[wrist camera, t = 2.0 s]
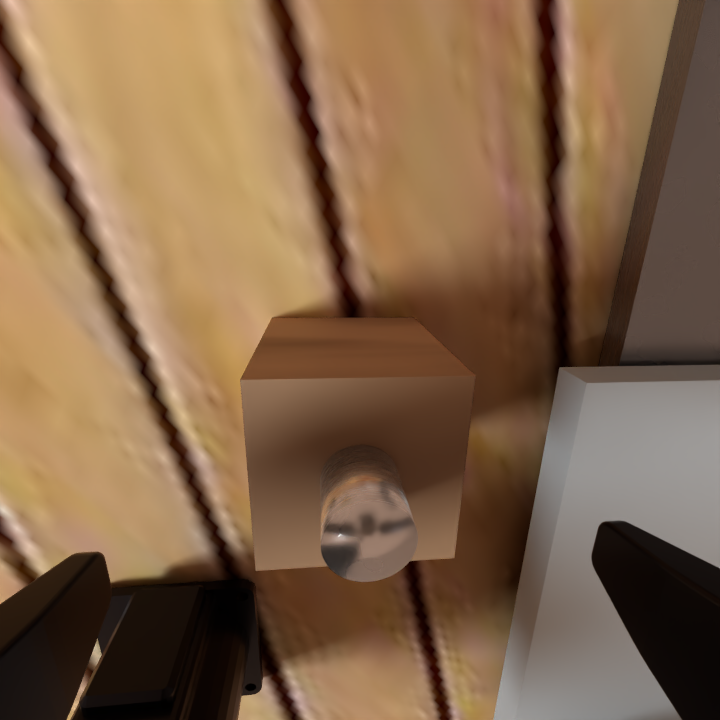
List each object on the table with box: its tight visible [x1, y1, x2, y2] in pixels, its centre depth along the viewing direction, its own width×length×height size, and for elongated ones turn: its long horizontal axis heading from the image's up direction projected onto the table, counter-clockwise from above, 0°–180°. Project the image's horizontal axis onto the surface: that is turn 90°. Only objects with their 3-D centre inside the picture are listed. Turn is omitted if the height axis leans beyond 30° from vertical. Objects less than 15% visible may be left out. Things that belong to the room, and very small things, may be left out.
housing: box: [240, 317, 476, 582], centre depth 11 cm, size 5×5×8 cm
